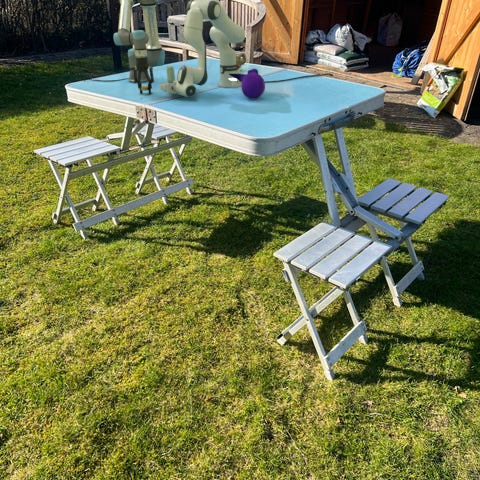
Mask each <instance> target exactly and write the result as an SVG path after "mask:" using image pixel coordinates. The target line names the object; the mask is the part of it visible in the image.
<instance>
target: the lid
mask: <svg viewBox="0 0 480 480" xmlns="http://www.w3.org/2000/svg"><path fill="white" fill-rule="evenodd" d="M141 90H142V92H146V91H148V85H142V87H141ZM148 92H149V91H148Z"/></svg>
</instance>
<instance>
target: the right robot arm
mask: <svg viewBox="0 0 480 480" xmlns="http://www.w3.org/2000/svg"><path fill="white" fill-rule="evenodd" d="M185 9H186V16H185V19H184V26H183V39H184V40H185V42H186V44H188V46H190V47H192V48H193V49H194V50H195V51H196V52H197V63H198V64H197V66H198V67H193V66H190V65H182V66H181V67H180V68H179V69H178V71H177V76H176V79H175V81H173V82H169V83H168V82H163V83H162V82H161V83H160V84H159V87H160V90H161V91H163V92H166V93H167V94H168V95H171V94H173V95H180V96H183V97H185V98H192V97H194V95H196V92H197V87H196V86H200V87H202V86H204V85H205V84H206V83H207V82H208V77H209V76H208V69H207V68H208V66H207V44H206V42H205V41H204V38H203V29H204V21H210V23H211V24H212V26H211V28H210V30H209V37H210V39H211V41H212V42H213V43H214V44H215V45H216V47H217V49H218V52H219V53H218V54H219V62H220V63H219V73H220V76H219V83H218V86H219V87H221V88H241V85H242V82H241V81H239V80H238V79H236V78H234V77H232V76H230V75H229V74H244V73H243V72H242V71H241V70H240V69H241V68H242V65H237V64H236V54H237V53H236V51H235V50H234V49H233V48H231V46H230V44H240V43H243V42H244V41H245V38H246V30H245V28H244V27H243V26H241V25H239V24H237V23H236V22H234V21H233V20H232V19H231V18H230V17H229V16H228V14H227V12H226V10H225V8H224V6H223V4H222V3H221V2H220V0H189V1H188V2H187V3H186V8H185ZM238 68H239V69H238ZM323 76H331V77H334V75H333V74H332V73H329V72H328V73H327V72H326V73H323V74H311V75H303V76H297V77H292V78H286V79H280V80H279V79H278V80H266V81H265V80H264V81H265V84H269V83H271V84H272V83H280V82H281V83H282V82H287V81H293V80H298V79H303V78H304V79H305V78H312V77H323ZM174 93H175V94H174Z"/></svg>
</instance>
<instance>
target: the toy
mask: <svg viewBox="0 0 480 480" xmlns="http://www.w3.org/2000/svg"><path fill="white" fill-rule="evenodd" d="M229 75H230V76H232V77H234V78H236V79H238V80H239V81H241V82H242V85H241V86H240V88H241V92H242V94H243V96H245V97H246V98H248V99H253V100H257V99H259V98H260V97H261V96H262V95H263V94H264V92H265V90H266V83H265V79H264V78H263V76H262V75H260V74H259V71H258V69H257V68H252V69H248V70H247V73H243V74H229Z"/></svg>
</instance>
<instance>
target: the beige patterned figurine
mask: <svg viewBox="0 0 480 480" xmlns="http://www.w3.org/2000/svg"><path fill="white" fill-rule="evenodd" d="M241 58H242V60H241ZM246 62H247V56H246V54H245V53H244V52H241V53H239V54H238V55H237V53H236V64H237V65H241V66H243V65H245V64H246ZM238 70H240V68H238Z"/></svg>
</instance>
